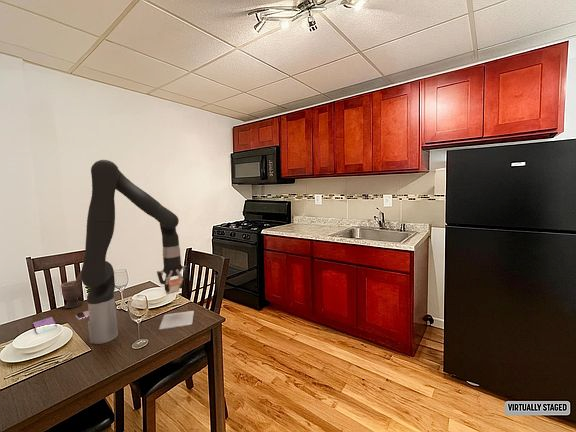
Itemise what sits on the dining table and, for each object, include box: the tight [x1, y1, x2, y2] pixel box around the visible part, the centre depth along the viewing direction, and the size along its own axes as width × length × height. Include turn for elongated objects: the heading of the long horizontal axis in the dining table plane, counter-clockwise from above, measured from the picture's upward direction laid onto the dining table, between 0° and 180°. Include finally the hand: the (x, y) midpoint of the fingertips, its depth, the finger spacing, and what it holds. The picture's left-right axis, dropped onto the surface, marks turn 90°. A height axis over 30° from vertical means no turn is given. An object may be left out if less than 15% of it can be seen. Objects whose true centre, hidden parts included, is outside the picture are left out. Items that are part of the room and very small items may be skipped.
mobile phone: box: [75, 310, 89, 320], centre depth 139 cm, size 8×1×15 cm
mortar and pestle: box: [60, 269, 83, 309], centre depth 147 cm, size 12×9×20 cm
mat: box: [158, 310, 195, 331], centre depth 129 cm, size 14×14×1 cm
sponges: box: [32, 316, 56, 329], centre depth 126 cm, size 7×13×2 cm, turn 48°
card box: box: [164, 278, 182, 295], centre depth 128 cm, size 3×6×9 cm
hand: (174, 289), depth 128 cm, fingers closed on card box, 5 cm apart
